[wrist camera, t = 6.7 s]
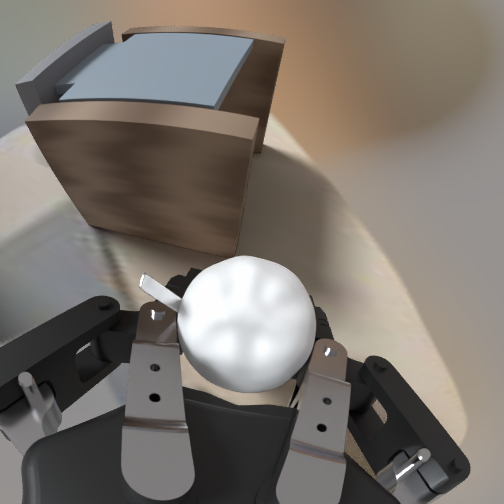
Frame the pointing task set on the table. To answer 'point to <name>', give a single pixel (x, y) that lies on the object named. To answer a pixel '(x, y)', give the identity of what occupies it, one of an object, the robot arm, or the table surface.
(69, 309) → the robot arm
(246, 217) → the table surface
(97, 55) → the trapdoor
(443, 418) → the table surface
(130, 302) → the table surface
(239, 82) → the stand
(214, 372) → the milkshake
